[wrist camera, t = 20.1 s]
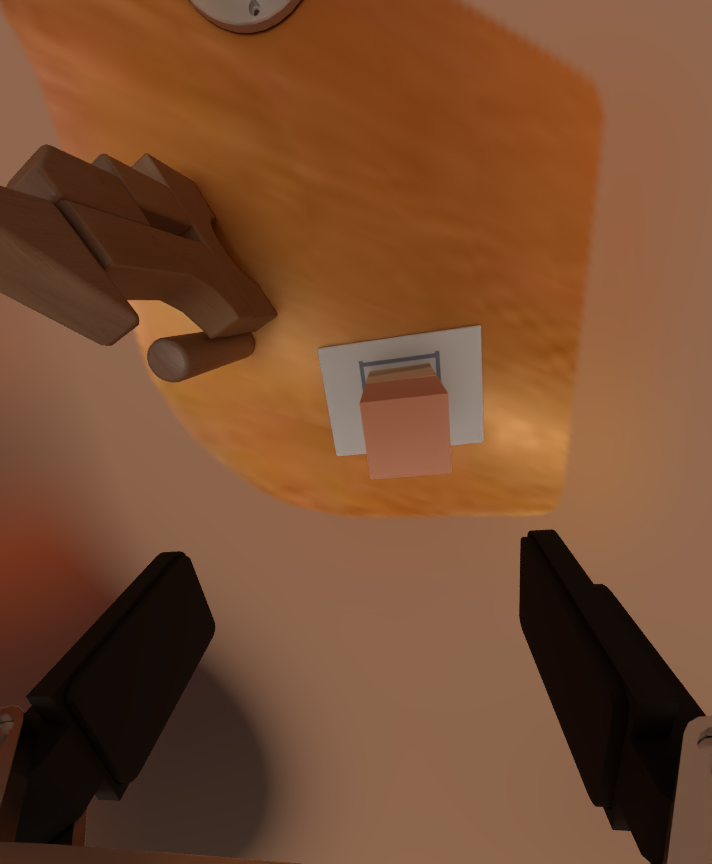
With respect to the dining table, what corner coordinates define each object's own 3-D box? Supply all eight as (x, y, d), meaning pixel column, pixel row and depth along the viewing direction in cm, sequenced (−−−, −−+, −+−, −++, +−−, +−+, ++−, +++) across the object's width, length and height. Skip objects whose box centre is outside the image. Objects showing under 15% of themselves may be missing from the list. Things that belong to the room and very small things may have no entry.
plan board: (319, 347, 35) (317, 349, 34) (478, 324, 33) (481, 325, 32) (338, 452, 39) (336, 456, 38) (481, 438, 37) (483, 442, 36)
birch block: (369, 371, 35) (365, 384, 29) (429, 363, 34) (436, 374, 28) (377, 426, 37) (374, 448, 31) (433, 419, 36) (441, 441, 30)
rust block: (365, 384, 29) (359, 402, 24) (437, 375, 28) (448, 393, 23) (374, 448, 31) (370, 479, 26) (441, 442, 30) (452, 473, 25)
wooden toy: (142, 224, 33) (-457, 34, 10) (192, 180, 31) (-393, -184, 8) (238, 363, 37) (-24, 464, 14) (288, 330, 35) (83, 382, 12)
